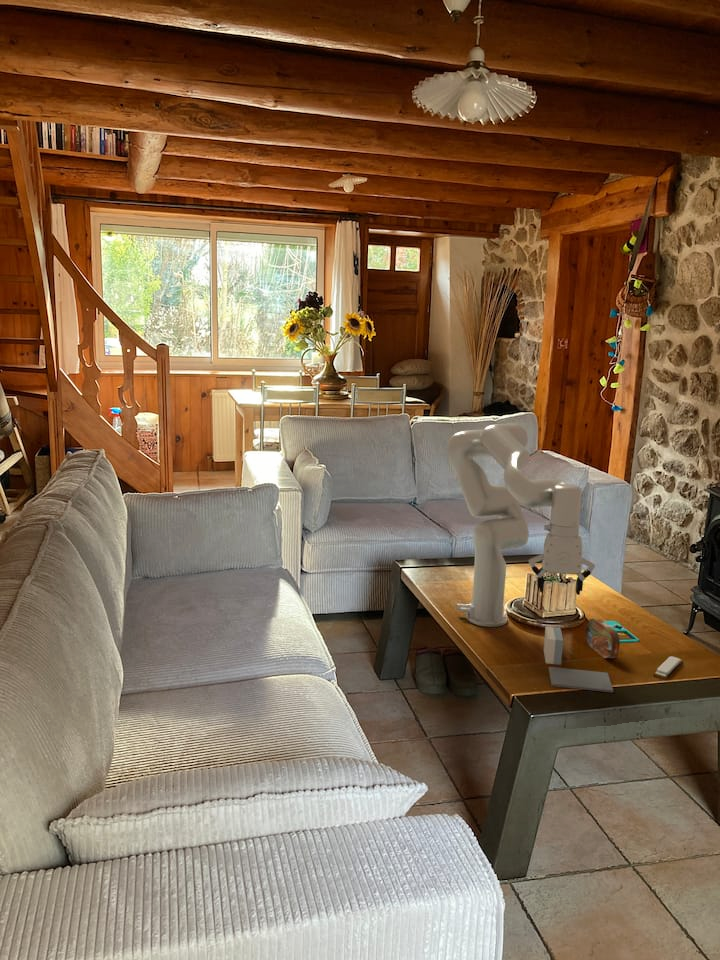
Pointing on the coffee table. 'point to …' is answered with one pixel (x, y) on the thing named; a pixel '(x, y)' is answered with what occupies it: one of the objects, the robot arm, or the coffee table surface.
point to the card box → (553, 645)
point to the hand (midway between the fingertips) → (559, 591)
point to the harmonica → (667, 667)
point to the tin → (602, 638)
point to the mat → (580, 679)
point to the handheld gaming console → (621, 629)
